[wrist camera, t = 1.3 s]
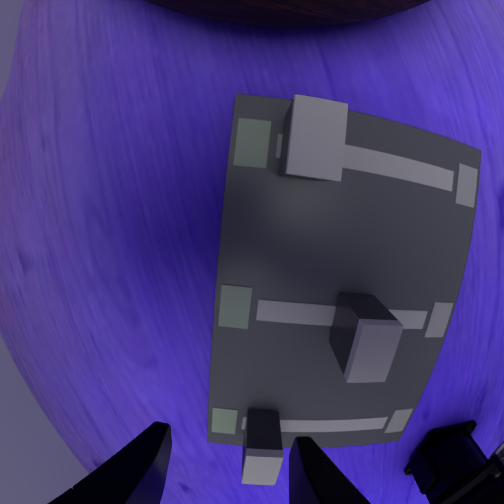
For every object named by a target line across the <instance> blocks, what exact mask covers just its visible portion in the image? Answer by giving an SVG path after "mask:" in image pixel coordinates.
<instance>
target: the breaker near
mask: <svg viewBox="0 0 504 504" xmlns="http://www.w3.org/2000/svg"><path fill="white" fill-rule="evenodd" d="M347 114H348V104H347V103H342V102H337V101H332V100H327V99H321V98H316V97H310V96H304V95H297V94H295V96H294V98H293V100H292V102H291V104H290V106H289V108H288V110H287V112H286V114H285V117H284V126H283V136H282V145H281V154H280V163H279V172H278V176H283V177H291V178H298V179H305V180H312V181H337V182H341V176H342V167H343V158H344V148H345V138H346V126H347Z"/></svg>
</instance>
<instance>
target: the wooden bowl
mask: <svg viewBox="0 0 504 504" xmlns="http://www.w3.org/2000/svg"><path fill="white" fill-rule="evenodd" d="M146 1H149V2H151V3H153V4H156V5H159V6H162V7H165V8H168V9H171V10H175V11H179V12H182V13H186V14H190V15H194V16H197V17H202V18H207V19H212V20H217V21H224V22H230V23H237V24H246V25H256V26H271V27H317V26H331V25H339V24H347V23H354V22H361V21H366V20H372V19H377V18H380V17H384V16H388V15H391V14H395V13H398V12H402V11H405V10H407V9H410V8H413V7H416V6H418V5H421V4H423V3H426V2H428V1H430V0H146Z"/></svg>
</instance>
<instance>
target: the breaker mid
mask: <svg viewBox="0 0 504 504" xmlns="http://www.w3.org/2000/svg"><path fill="white" fill-rule="evenodd" d="M403 327H404V326H403V325H402V324H401V322H400V321H399V320H398V319H397V318H396V317H395V316H394V315H393V314H392V313H391V312H390V311H389V310H388V309H387V308H386V307H385V306H384V305H383V304H382V303H381V302H380V301H379V300H378V299H377V298H376V297H375V296H374V295H370V294H357V293H345V292H340V293H339V298H338V302H337V307H336V312H335V316H334V321H333V325H332V330H331V334H330V338H329V343H330V346H331V348H332V350H333V352H334V355H335V357H336V359H337V362H338V364H339V366H340V368H341V371H342V373H343V375H344V378H345V380H346V382H347V383H368V382H385V381H386V378H387V375H388V372H389V370H390V367H391V364H392V361H393V358H394V355H395V352H396V349H397V346H398V343H399V340H400V337H401V334H402V331H403Z"/></svg>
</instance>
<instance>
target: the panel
mask: <svg viewBox="0 0 504 504" xmlns="http://www.w3.org/2000/svg"><path fill="white" fill-rule="evenodd" d="M291 102H292V100H289V99H281V98H273V97H265V96H256V95H245V94H236V97H235V104H234V112H233V120H232V129H231V137H230V146H229V154H228V163H227V172H226V182H225V191H224V201H223V211H222V221H221V232H220V243H219V254H218V266H217V278H216V291H215V304H214V318H213V332H212V348H211V365H210V383H209V403H208V426H207V442H214V443H222V444H232V445H243V437H244V430H245V424H246V417H247V410H253V411H268V412H279V417H280V427H281V437H282V447H283V448H292V445H293V441H294V439H295V437H297V436H310V437H311V438H312V439H313V440H314V441H315V442H316V443H317V445H318V446H319V447H320V448H322V447H343V446H357V445H368V444H378V443H386V442H394V441H399V439H400V437H401V436H402V434H403V432H404V430H405V428H406V426H407V424H408V422H409V420H410V418H411V417H412V415H413V412H414V410H415V408H416V406H417V404H418V402H419V400H420V398H421V396H422V393H423V391H424V389H425V387H426V385H427V382H428V380H429V378H430V375H431V373H432V370H433V368H434V365H435V363H436V360H437V358H438V355H439V352H440V350H441V347H442V344H443V341H444V339H445V336H446V333H447V330H448V327H449V324H450V321H451V318H452V314H453V311H454V308H455V304H456V301H457V297H458V294H459V290H460V286H461V282H462V278H463V274H464V270H465V266H466V261H467V257H468V252H469V247H470V242H471V236H472V230H473V224H474V218H475V211H476V204H477V195H478V186H479V175H480V161H481V150H478V149H476V148H473V147H471V146H468V145H466V144H463V143H460V142H458V141H455V140H452V139H449V138H447V137H444V136H441V135H438V134H435V133H432V132H429V131H426V130H423V129H419V128H416V127H413V126H409V125H406V124H402V123H399V122H395V121H392V120H388V119H384V118H380V117H376V116H372V115H368V114H364V113H360V112H355V111H350V110H348V114H347V126H346V138H345V148H344V158H343V167H342V176H341V182H337V181H312V180H305V179H298V178H291V177H283V176H278V172H279V163H280V154H281V145H282V136H283V126H284V117H285V114H286V112H287V110H288V108H289V106H290V104H291ZM340 292H345V293H357V294H370V295H374V296H375V297H376V298H377V299H378V300H379V301H380V302H381V303H382V304H383V305H384V306H385V307H386V308H387V309H388V310H389V311H390V312H391V313H392V314H393V315H394V316H395V317H396V318H397V319H398V320H399V321H400V322H401V324H402V325H403V326H404V327H403V331H402V334H401V337H400V340H399V343H398V346H397V349H396V352H395V355H394V358H393V361H392V364H391V367H390V370H389V372H388V375H387V378H386V381H385V382H368V383H347V382H346V380H345V378H344V375H343V373H342V371H341V368H340V366H339V364H338V362H337V359H336V357H335V355H334V352H333V350H332V348H331V346H330V343H329V338H330V334H331V330H332V325H333V321H334V316H335V312H336V307H337V302H338V298H339V293H340Z"/></svg>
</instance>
